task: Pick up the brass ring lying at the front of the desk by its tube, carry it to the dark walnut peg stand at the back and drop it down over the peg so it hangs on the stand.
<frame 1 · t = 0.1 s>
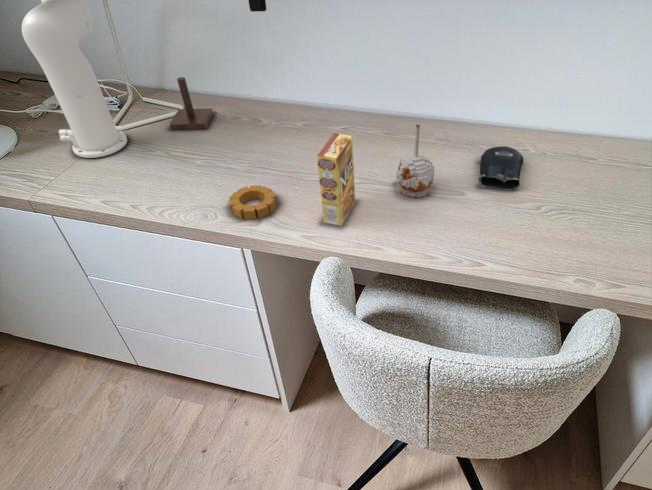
hand: (261, 3, 101), 31 cm above the table, tool pointing down, fingers open, 9 cm apart
candy box: (339, 213, 101), on the table
electronic device: (500, 172, 111), on the table
caramel apple: (413, 189, 107), on the table
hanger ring: (253, 205, 103), on the table
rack: (192, 121, 131), on the table
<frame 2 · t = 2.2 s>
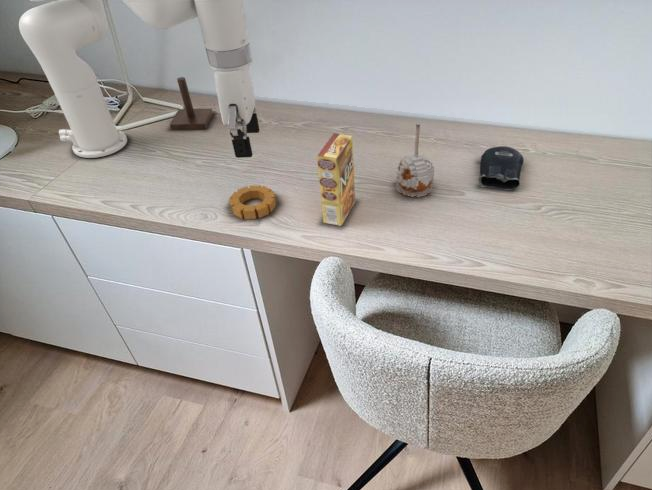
hand: (248, 144, 97), 12 cm above the table, tool pointing down, fingers open, 9 cm apart
nothing on the table moved.
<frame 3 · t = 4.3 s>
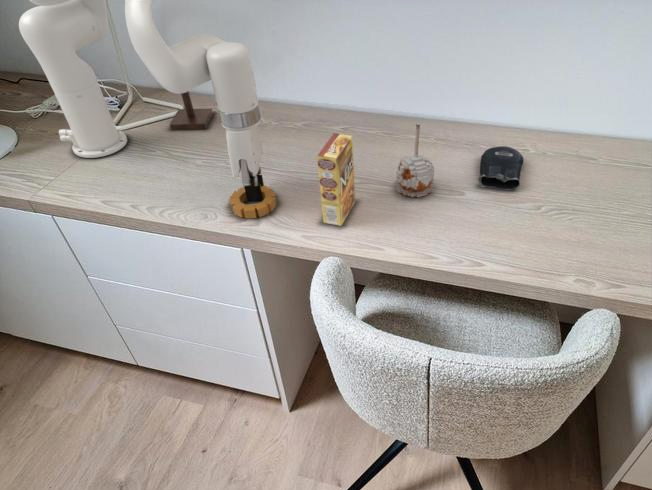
hand: (256, 195, 105), 0 cm above the table, tool pointing down, fingers closed on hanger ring, 2 cm apart
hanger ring: (254, 205, 103), on the table, touching gripper
everything else where it was.
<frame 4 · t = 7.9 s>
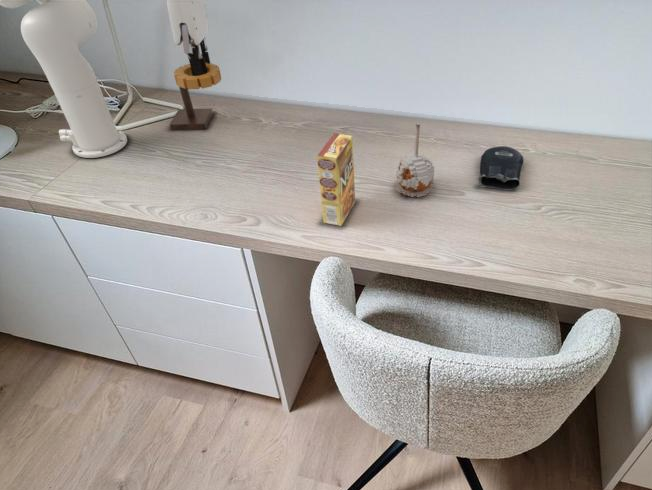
hand: (202, 73, 107), 19 cm above the table, tool pointing down, fingers closed on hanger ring, 2 cm apart
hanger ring: (199, 80, 104), point 19 cm above the table, touching gripper
everything else where it was.
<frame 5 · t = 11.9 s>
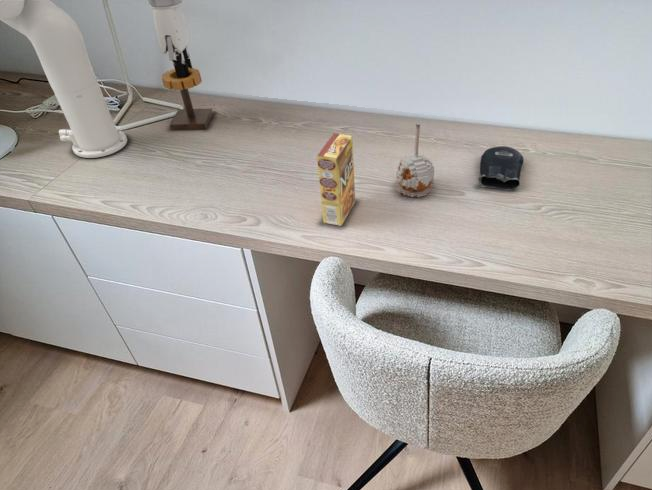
hand: (185, 76, 127), 11 cm above the table, tool pointing down, fingers closed on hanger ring, 2 cm apart
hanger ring: (182, 82, 124), point 10 cm above the table, touching gripper
everything else where it was.
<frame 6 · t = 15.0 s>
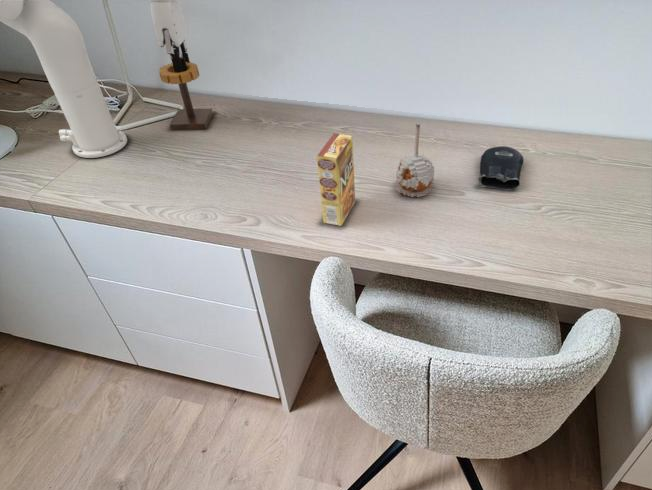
hand: (183, 70, 125), 12 cm above the table, tool pointing down, fingers closed on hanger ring
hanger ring: (180, 76, 123), point 12 cm above the table, touching gripper
everything else where it was.
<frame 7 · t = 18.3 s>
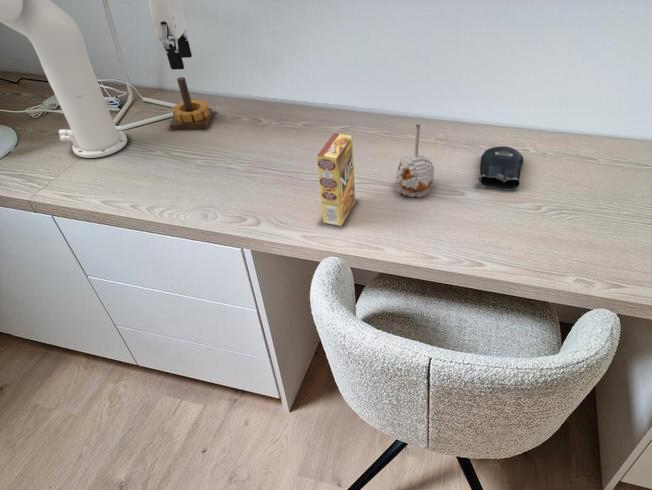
hand: (181, 62, 124), 14 cm above the table, tool pointing down, fingers open, 7 cm apart
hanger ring: (191, 114, 131), point 1 cm above the table, touching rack
everything else where it was.
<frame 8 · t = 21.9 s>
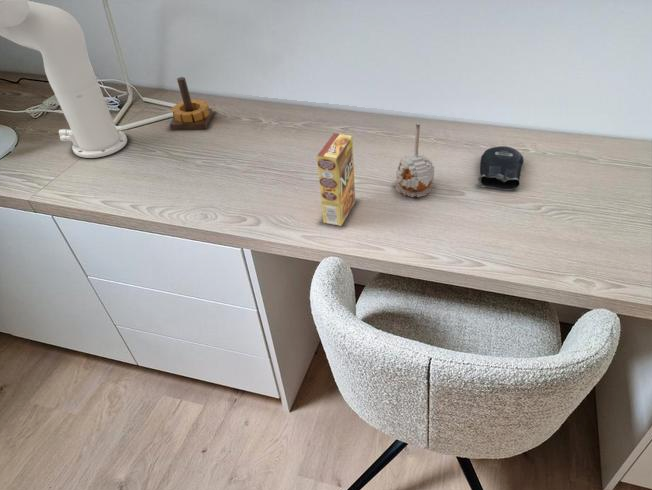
nothing on the table moved.
at the end: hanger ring 1.1 cm from the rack (horizontally); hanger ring point 1.5 cm above the table; the gripper is holding nothing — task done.
